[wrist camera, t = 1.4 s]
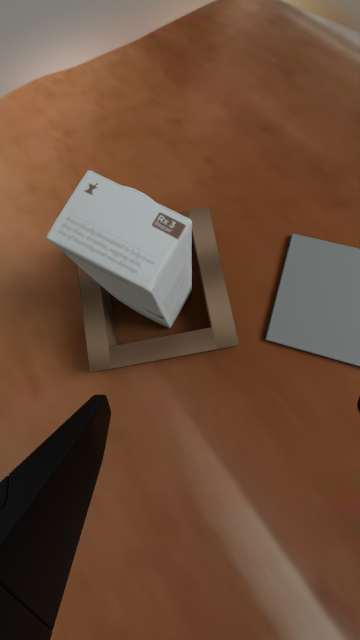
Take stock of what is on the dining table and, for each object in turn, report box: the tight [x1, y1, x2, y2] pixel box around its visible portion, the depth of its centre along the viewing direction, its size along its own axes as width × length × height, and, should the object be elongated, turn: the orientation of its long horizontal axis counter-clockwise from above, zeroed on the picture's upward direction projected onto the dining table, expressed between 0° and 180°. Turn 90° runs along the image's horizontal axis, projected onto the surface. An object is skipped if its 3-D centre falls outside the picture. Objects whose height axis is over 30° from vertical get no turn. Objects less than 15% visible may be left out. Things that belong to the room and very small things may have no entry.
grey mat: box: [265, 234, 360, 367], centre depth 22 cm, size 10×10×1 cm
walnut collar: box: [77, 207, 239, 372], centre depth 23 cm, size 12×12×2 cm
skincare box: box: [47, 170, 192, 329], centre depth 18 cm, size 6×4×12 cm
